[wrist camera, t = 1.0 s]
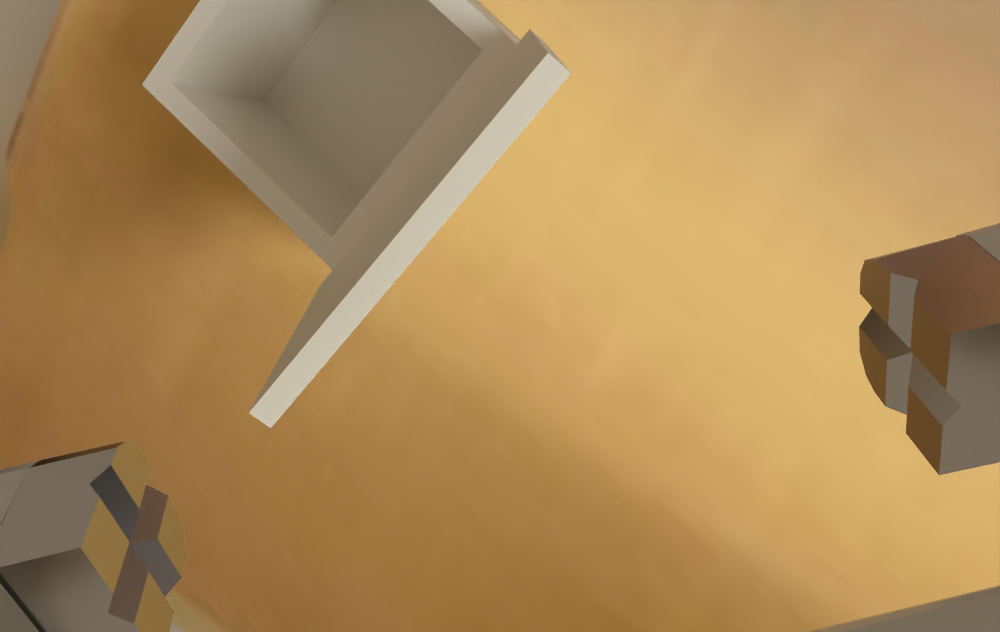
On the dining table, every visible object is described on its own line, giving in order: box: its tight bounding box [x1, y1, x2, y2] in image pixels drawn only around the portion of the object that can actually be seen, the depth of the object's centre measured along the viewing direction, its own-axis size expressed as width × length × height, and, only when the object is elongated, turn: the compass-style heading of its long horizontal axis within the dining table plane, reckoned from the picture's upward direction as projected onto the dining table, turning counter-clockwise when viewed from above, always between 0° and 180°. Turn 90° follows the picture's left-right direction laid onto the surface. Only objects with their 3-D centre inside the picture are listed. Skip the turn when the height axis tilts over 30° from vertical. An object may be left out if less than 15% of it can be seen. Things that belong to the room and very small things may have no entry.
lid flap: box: [249, 29, 571, 428], centre depth 31 cm, size 14×12×1 cm
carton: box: [142, 0, 520, 270], centre depth 41 cm, size 12×12×9 cm
